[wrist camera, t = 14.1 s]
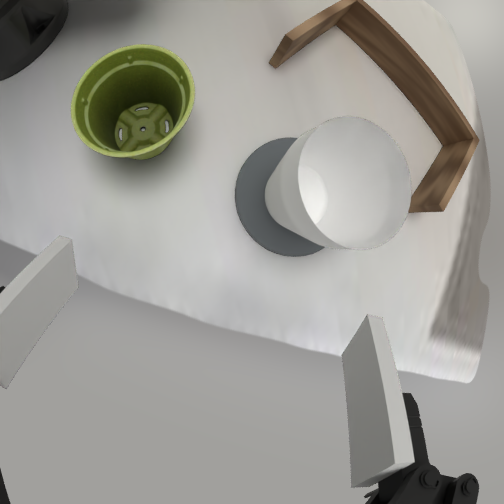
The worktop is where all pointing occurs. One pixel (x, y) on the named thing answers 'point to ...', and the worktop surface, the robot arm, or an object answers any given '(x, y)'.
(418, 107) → the u-shaped wooden rail
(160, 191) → the worktop surface
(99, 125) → the plant pot
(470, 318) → the worktop surface
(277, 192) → the cup
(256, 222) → the disc
